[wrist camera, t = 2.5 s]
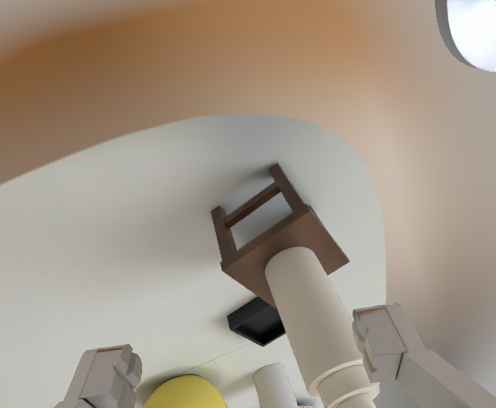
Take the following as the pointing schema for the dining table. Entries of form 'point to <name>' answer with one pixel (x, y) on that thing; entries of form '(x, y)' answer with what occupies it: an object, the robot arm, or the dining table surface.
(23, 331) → the dining table surface
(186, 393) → the vase
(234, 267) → the brown wooden stool
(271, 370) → the white cylinder
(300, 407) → the dinner plate
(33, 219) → the dining table surface
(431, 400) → the robot arm
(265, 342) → the black square tray
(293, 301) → the bottle
